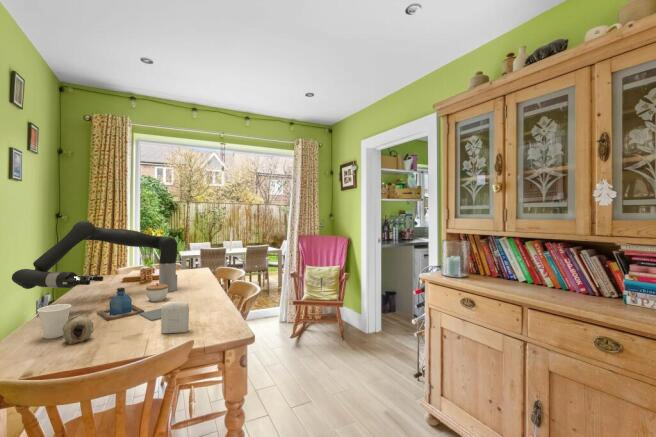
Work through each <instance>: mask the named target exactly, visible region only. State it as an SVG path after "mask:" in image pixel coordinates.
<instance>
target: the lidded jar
mask: <svg viewBox="0 0 656 437" xmlns="http://www.w3.org/2000/svg"><path fill="white" fill-rule="evenodd" d="M145 293H146V297H147V299H148V300H150V302H153V303H155V302H158V303H159V302H161V301H164V300H163V299H165V298H166V297H167V295H168V293H169V292H168V285H167V284H159V282H157V283H156V284H150V285H147V286H146V288H145Z"/></svg>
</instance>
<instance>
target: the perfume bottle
mask: <svg viewBox="0 0 656 437" xmlns="http://www.w3.org/2000/svg"><path fill="white" fill-rule="evenodd" d="M132 301H133V300H132V298H131V296H130V295H129V294H127V293H126V290H125V287H118V288H116V295H114V296H112V298H111V299H110V301H109V309H110V310H109V313H108V315H110V316H115V315H119V314H124V313H129V312H133V310H132V305H133V304H132Z"/></svg>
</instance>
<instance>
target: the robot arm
mask: <svg viewBox="0 0 656 437" xmlns="http://www.w3.org/2000/svg"><path fill="white" fill-rule="evenodd" d="M82 241H95V242H96V241H97V242H105V243H109V244H114V245H120V246H124V247H134V248H151V249H156V250H160V256H159V260H158V262H159V264H158V266H159V270H158V284H167V285H168V293H171V292H172V293H173V292H176V291H178V274H177V258H178V241H177V239H175V238H173V237H171V236H162V235H161V236H159V235H152V234H148V233H144V232H141V231H137V230H133V229H127V228H126V229H125V228H104V227H99V226H95V225H94V223H92V222H91V221H89V220H81V221H78V222H76V223H75V224H73V227H72V228H71V229H70V231H69V232H68V233H67V234H66V235H64V237H63V238H62V239H61V240H59V241H58V242H56V244H54V245H53V246H51V247H50V248H49V249H47V250H46V251H45V252H44V253H42V254H41V256H39V257H38V258H37V259H35V260H34V262H32V265H33V267H34V269H31V268H21V269H18V270H16V271H14V273H12V275H11V280H12V282H13V283H15V284H16V285H18V286H20V287H21V288H23V289H25V290H30V289H34V288H36V287H40V288H53V289H54V288H55V289H71V288H74V287H76V286H89V285H91V282H103V281H104V276H102V275H101V276H100V275H99V276H98V274H84V275H82V274H79V275H77V274H76V272H74V271H49V270H51V269H52V268H53V267H55V266H56V265H57V264H58V263H60V261H61V260H62V259H63V258H64V257H65V256H66V255H67V254H68V253H69V252H70V251H71V250H72V249H73V248H75V246H78V244H80V243H82Z"/></svg>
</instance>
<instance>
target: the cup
mask: <svg viewBox="0 0 656 437" xmlns="http://www.w3.org/2000/svg"><path fill="white" fill-rule="evenodd" d="M71 308H72V304H69V303H58V304H52V305H46V306H42V307H39V308H38V309H37V310H36V311H37V312H38V317H39V321H40V325H41V330H42V336H43V338H45V339H48V340H49V339H51V340H53V339H58V338H60V337H63V330H62V328H63V326H64V324H65V323H66V322H67V320H68V319H69V316H70V312H71Z"/></svg>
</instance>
